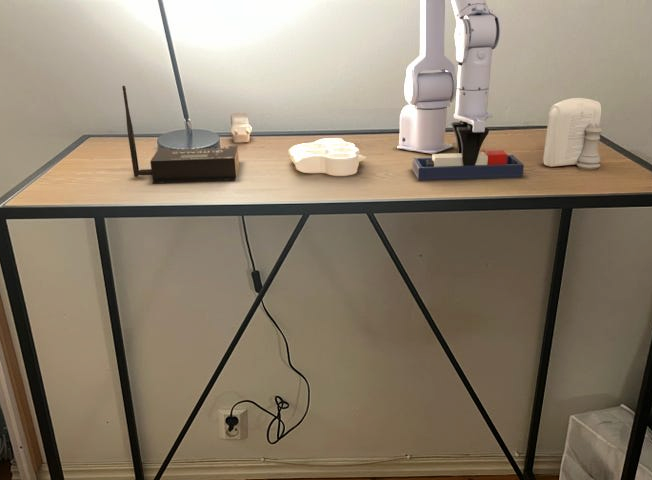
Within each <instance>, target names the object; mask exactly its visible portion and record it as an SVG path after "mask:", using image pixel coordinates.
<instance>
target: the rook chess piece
mask: <svg viewBox="0 0 652 480" xmlns="http://www.w3.org/2000/svg"><path fill="white" fill-rule="evenodd" d="M602 127H603V125H602V124H601V123H600V124H599V125H598V126H597V124H596V123H595V126H593V124H592V123H591V124H588V126H587V128H586V129H585V131H586V133H587V136H586V137H585V139H586V141H585V145H584V149H583V151H582V153H581V155H580V156H579V157H578V159H577V160H578V161H579V162H578V163H577V164H576V166H577V168H578V169H581V170H587V171H588V170H589V171H590V170H591V171H592V170H598V169H599V168H600V166H601V164H600V162H601V161H602V159H601V157H600V152H599V143H600V140H601V137H600V136H601V134H602V132H604V129H603V128H602Z"/></svg>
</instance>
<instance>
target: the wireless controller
mask: <svg viewBox="0 0 652 480" xmlns="http://www.w3.org/2000/svg"><path fill="white" fill-rule="evenodd" d="M121 87H122V88H121V89H122V94H123V95H122V96H123V102H124V108H125V118H126V119H125V120H126V130H127V138H128V144H129V150H130V158H131V164H132V170H133V171H132V172H133V177H134V178H138V177H139V176H151V177H152V184H153V185H161V184H163V185H164V184H189V183H190V184H191V183H218V182H219V183H220V182H236V179H237V177H238V172H239V168H240V157H239V155H240V154H239V145H229V146H228V147H225V146H224V147H218V148H217V147H216V146H215V147H214V148H212V147H211V146H210V147H208V148H206V147H204V148H201V147H199V148H197V147H195V148H191V147H189V148H188V149H187V148H186V147H185V148H184V149H182V148H179V149H177V148H175V149H172V147H162V148H157V150H156V152H155V153H154V154H153V156H152V158H151V159H150V160H149V161H150V163H149V164H150V169H149V168H148V169H147V168H145V169H140V167H139V166H140V165H139V159H138V154H137V153H138V152H137V147H136V146H137V145H136V140H135V132H134V127H133V123H132V118H131V114H130V113H131V112H130V108H129V101H128V96H127V89H126V86H125V85H122V86H121Z"/></svg>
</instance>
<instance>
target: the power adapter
mask: <svg viewBox="0 0 652 480" xmlns="http://www.w3.org/2000/svg"><path fill="white" fill-rule="evenodd" d="M229 131H230V132H231V138H232V141H233V143H235V144H236V143H238V144H240V143H248V142H250V140H251V139H250V134H251V133H252V132H253V128H252V126H251V124H250V122H249V117H248V114H247V113H246V112H233V113H231V114H230V128H229Z"/></svg>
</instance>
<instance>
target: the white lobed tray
mask: <svg viewBox="0 0 652 480" xmlns="http://www.w3.org/2000/svg"><path fill="white" fill-rule="evenodd" d="M360 152H361V150H360V148H359V147H357V146H356V144H354V143H353V142H347V141H345V140H344V139H343V138H338V137H328V138H321V139H317V140H316V141H314V142H307V143H300V144H295V145H293V146H292V147H290V148H289V149H288V157H290V158H291V162H292V163H293V165H294V166H295V169H296V170H297V171H299V172H301V173H302V174H303V173H304V174H327V175H329V176H335V177H347V176H353V175H356V174H357V172H358V168H359V166H360V162H361V161H363V160H365V159H367V157H366V156H364V155H362V154H360Z"/></svg>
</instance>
